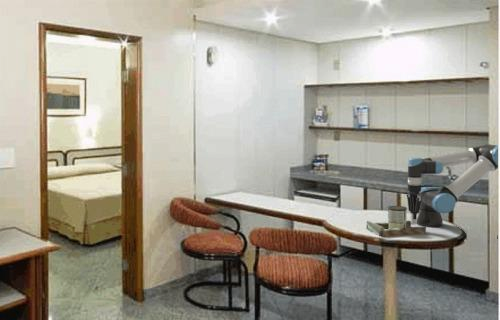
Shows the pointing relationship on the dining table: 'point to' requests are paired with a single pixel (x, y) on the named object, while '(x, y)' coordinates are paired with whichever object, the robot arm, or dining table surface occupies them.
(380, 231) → the shallow brown tray
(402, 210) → the coffee can
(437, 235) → the dining table surface
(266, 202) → the dining table surface
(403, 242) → the dining table surface
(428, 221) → the robot arm
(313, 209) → the dining table surface
